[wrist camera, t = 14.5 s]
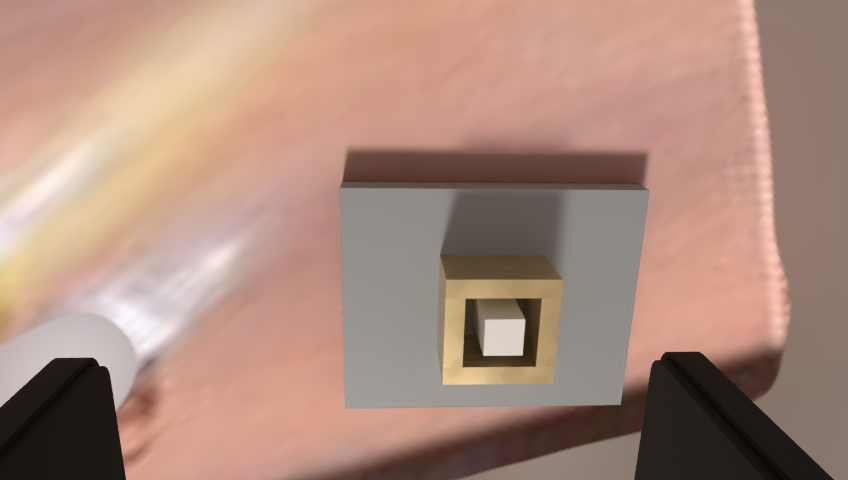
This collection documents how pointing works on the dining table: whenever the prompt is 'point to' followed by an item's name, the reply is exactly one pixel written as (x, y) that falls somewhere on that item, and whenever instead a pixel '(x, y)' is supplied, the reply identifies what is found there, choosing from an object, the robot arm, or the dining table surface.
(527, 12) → the dining table surface
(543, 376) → the collar
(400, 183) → the post stand
